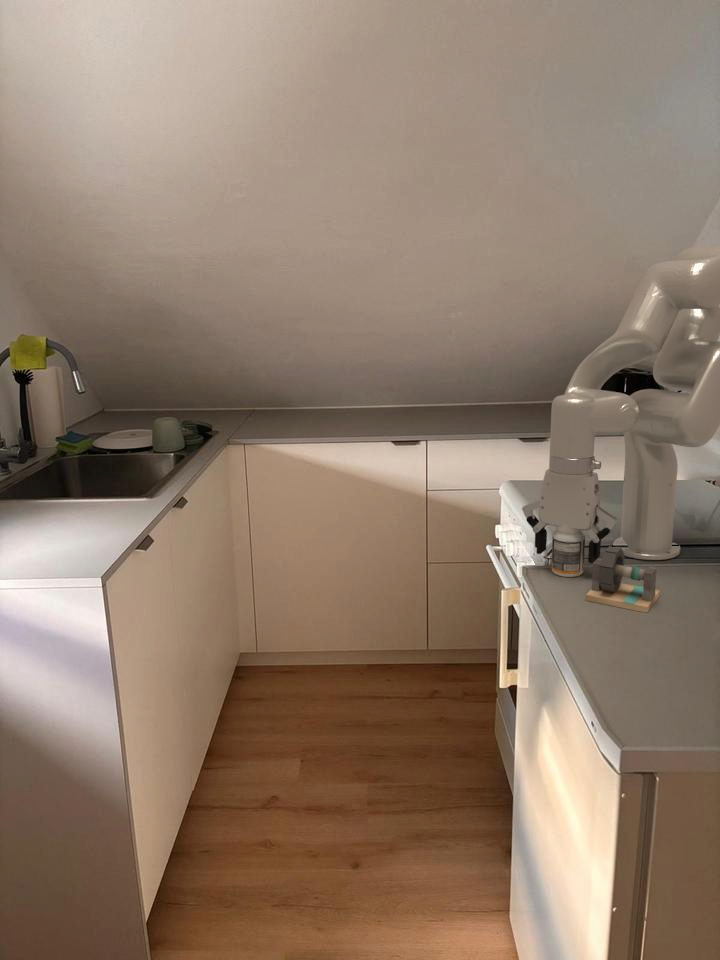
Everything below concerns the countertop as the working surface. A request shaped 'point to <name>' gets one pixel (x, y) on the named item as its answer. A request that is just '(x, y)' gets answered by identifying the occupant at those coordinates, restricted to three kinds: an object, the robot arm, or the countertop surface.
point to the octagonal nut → (610, 569)
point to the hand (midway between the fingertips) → (566, 556)
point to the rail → (626, 588)
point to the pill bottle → (568, 551)
